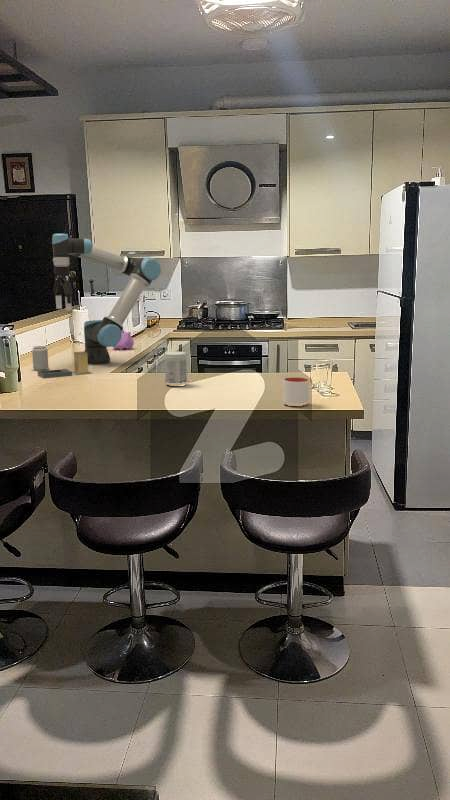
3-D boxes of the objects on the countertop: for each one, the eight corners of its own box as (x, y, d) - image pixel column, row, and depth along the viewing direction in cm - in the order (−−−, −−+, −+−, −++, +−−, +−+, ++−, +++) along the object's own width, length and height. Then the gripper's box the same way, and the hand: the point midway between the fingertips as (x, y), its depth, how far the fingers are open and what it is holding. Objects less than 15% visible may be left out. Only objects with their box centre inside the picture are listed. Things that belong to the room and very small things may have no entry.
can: (44, 371, 311) (42, 347, 308) (30, 370, 313) (29, 347, 310) (51, 368, 318) (49, 345, 316) (37, 368, 320) (36, 345, 317)
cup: (280, 402, 245) (281, 377, 242) (305, 401, 245) (306, 377, 243) (285, 408, 235) (285, 382, 233) (310, 407, 236) (311, 382, 234)
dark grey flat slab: (65, 372, 307) (65, 368, 306) (72, 375, 300) (71, 371, 299) (37, 375, 299) (37, 371, 299) (43, 378, 292) (43, 373, 292)
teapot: (141, 350, 388) (140, 330, 385) (120, 352, 379) (120, 332, 377) (125, 346, 403) (125, 328, 401) (106, 348, 395) (105, 329, 392)
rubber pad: (86, 370, 312) (86, 370, 312) (92, 373, 306) (92, 372, 306) (70, 372, 308) (70, 371, 308) (76, 374, 301) (76, 374, 301)
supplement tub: (183, 382, 283) (183, 351, 280) (189, 386, 274) (189, 353, 271) (162, 384, 280) (162, 351, 277) (168, 388, 271) (167, 354, 268)
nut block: (84, 371, 310) (83, 351, 308) (88, 372, 306) (87, 352, 304) (74, 372, 308) (73, 352, 305) (78, 373, 303) (77, 353, 301)
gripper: (45, 265, 312) (48, 308, 317) (63, 266, 292) (65, 311, 297) (60, 265, 316) (62, 307, 321) (78, 266, 296) (80, 310, 301)
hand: (63, 309), depth 309 cm, fingers open, 13 cm apart
